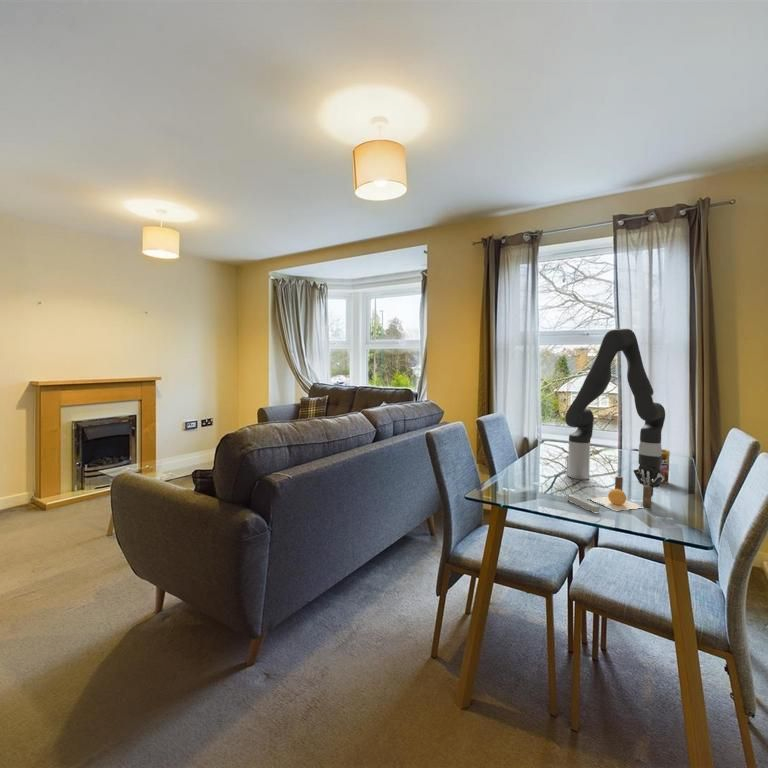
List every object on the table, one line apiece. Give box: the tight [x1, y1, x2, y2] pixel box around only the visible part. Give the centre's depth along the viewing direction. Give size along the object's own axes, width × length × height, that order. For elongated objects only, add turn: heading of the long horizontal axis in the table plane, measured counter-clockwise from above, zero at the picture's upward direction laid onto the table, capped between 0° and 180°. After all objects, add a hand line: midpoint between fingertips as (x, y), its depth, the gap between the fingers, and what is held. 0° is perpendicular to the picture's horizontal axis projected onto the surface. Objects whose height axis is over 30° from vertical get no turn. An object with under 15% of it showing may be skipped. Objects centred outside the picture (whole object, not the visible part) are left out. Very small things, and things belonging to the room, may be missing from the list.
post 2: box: [642, 485, 652, 509], centre depth 154 cm, size 3×3×8 cm
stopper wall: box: [567, 494, 600, 513], centre depth 155 cm, size 14×2×2 cm, turn 15°
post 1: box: [614, 475, 624, 491], centre depth 167 cm, size 3×3×8 cm
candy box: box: [659, 448, 671, 484], centre depth 189 cm, size 9×4×15 cm, turn 60°
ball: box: [607, 488, 627, 505], centre depth 157 cm, size 6×6×6 cm
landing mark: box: [589, 496, 645, 512], centre depth 159 cm, size 14×14×1 cm
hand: (648, 496), depth 163 cm, fingers closed
